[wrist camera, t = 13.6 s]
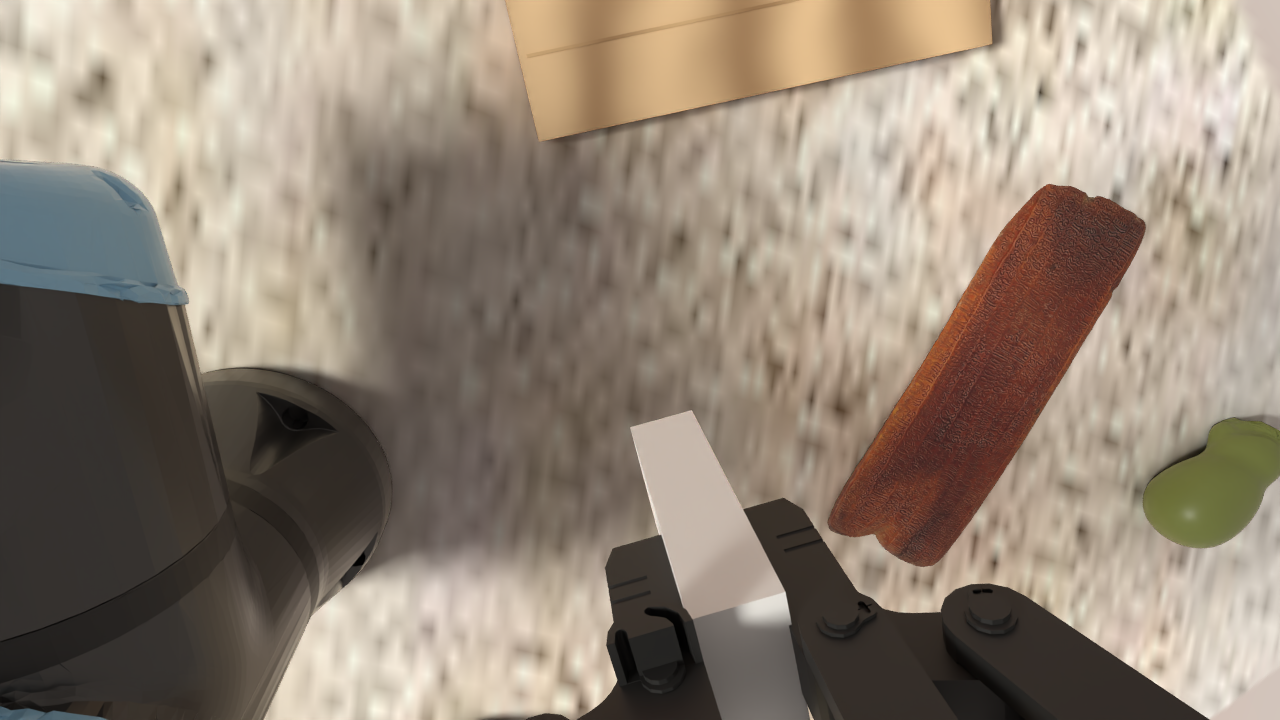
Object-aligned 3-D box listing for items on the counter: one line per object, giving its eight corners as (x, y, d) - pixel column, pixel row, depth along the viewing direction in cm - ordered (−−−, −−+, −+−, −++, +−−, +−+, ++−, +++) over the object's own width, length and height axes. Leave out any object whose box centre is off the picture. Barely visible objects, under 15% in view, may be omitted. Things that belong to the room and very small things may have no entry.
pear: (1184, 526, 45) (1297, 415, 45) (1112, 492, 50) (1213, 393, 50) (1219, 578, 47) (1327, 471, 47) (1146, 540, 52) (1244, 444, 52)
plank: (969, -123, 36) (983, -133, 34) (979, 47, 38) (992, 43, 37) (499, -26, 35) (497, -32, 34) (539, 141, 37) (539, 141, 36)
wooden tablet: (928, 564, 51) (940, 579, 50) (813, 521, 49) (821, 535, 47) (1159, 229, 44) (1181, 234, 43) (1037, 158, 42) (1056, 161, 40)
